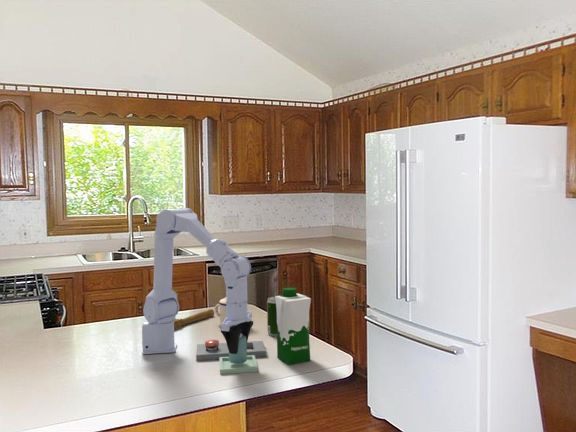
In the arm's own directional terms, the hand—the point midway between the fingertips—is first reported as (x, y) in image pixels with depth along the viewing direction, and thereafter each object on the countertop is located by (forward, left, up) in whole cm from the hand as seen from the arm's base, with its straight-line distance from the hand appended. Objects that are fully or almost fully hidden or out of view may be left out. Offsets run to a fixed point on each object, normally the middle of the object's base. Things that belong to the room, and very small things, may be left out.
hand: (237, 350), depth 142 cm
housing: (-2, +12, -4) cm, 13 cm away
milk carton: (+16, +3, -5) cm, 17 cm away
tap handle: (-17, +47, -5) cm, 50 cm away
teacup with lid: (-1, +43, -5) cm, 43 cm away
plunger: (-7, +12, -4) cm, 15 cm away
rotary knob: (0, 0, -3) cm, 3 cm away
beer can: (+14, +29, -5) cm, 33 cm away
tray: (0, 0, -4) cm, 4 cm away
